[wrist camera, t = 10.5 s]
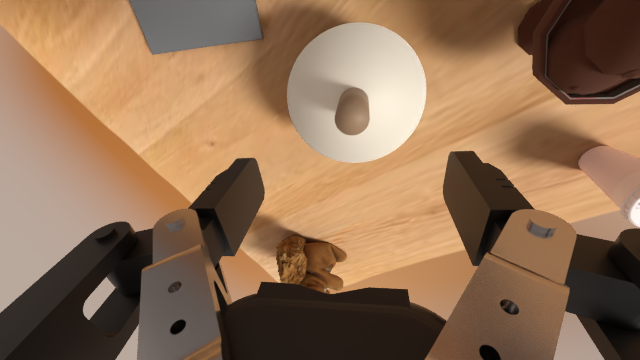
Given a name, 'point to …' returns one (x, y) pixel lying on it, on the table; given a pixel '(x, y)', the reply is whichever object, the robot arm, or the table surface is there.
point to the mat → (196, 23)
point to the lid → (356, 92)
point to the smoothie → (615, 178)
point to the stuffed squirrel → (309, 264)
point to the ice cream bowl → (584, 48)
